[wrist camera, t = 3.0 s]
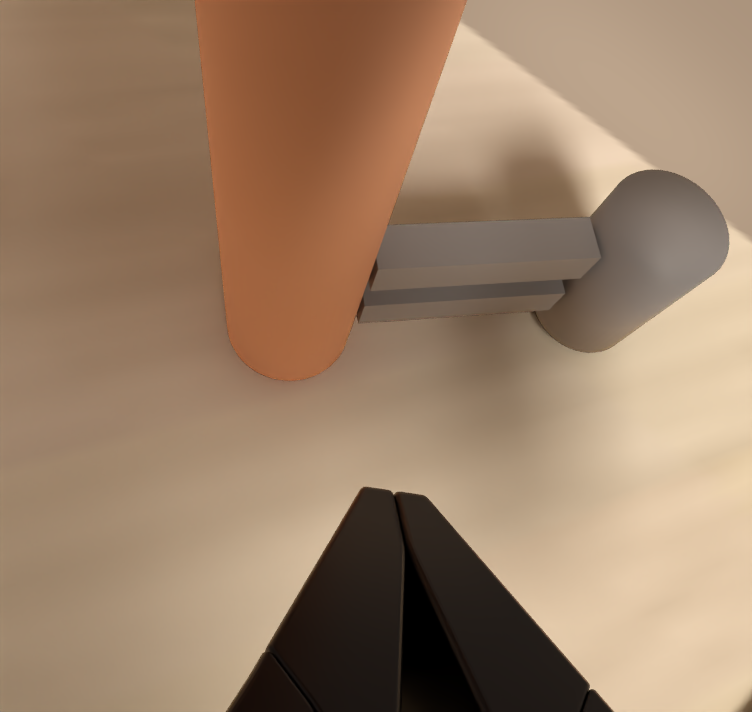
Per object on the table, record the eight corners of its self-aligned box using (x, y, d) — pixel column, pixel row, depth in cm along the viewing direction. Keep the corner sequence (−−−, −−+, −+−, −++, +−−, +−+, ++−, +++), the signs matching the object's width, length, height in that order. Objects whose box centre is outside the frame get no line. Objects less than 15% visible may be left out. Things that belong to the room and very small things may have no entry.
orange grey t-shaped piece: (614, 253, 19) (1380, -490, 6) (642, 351, 18) (1618, -279, 5) (223, 273, 17) (116, -827, 4) (231, 387, 16) (131, -567, 3)
